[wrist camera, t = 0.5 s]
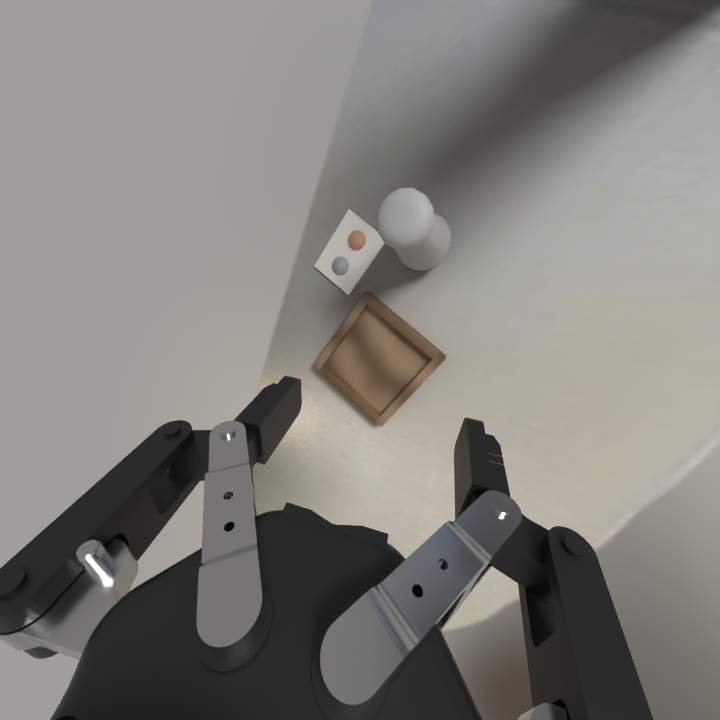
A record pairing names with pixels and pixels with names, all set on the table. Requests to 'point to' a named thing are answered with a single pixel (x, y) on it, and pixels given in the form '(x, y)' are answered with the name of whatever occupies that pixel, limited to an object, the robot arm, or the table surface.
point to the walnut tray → (378, 359)
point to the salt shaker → (413, 229)
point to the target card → (349, 252)
